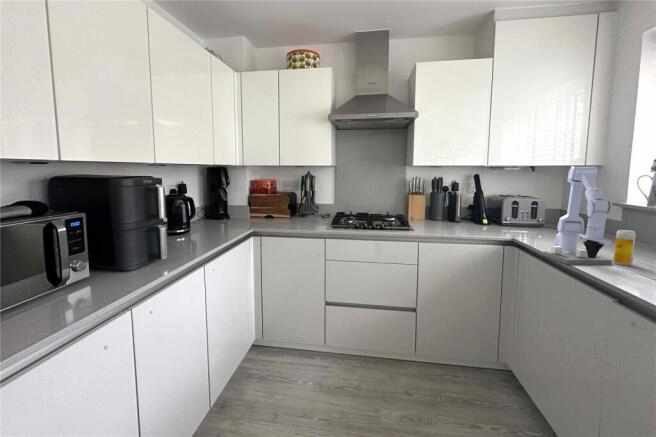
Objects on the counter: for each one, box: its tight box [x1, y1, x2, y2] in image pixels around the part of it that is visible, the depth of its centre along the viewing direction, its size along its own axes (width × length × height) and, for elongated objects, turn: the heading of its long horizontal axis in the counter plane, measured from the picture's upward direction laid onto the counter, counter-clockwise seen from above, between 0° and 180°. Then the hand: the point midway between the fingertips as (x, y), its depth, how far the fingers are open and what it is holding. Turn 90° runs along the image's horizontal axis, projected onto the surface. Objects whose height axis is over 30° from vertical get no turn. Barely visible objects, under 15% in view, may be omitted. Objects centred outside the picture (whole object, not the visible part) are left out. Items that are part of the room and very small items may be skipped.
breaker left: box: [550, 245, 563, 254], centre depth 146 cm, size 2×4×3 cm, turn 90°
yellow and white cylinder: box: [612, 229, 637, 266], centre depth 136 cm, size 6×6×15 cm
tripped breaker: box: [575, 248, 588, 257], centre depth 140 cm, size 2×4×3 cm, turn 90°
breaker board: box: [542, 250, 613, 266], centre depth 143 cm, size 15×20×2 cm
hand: (591, 258), depth 135 cm, fingers closed
